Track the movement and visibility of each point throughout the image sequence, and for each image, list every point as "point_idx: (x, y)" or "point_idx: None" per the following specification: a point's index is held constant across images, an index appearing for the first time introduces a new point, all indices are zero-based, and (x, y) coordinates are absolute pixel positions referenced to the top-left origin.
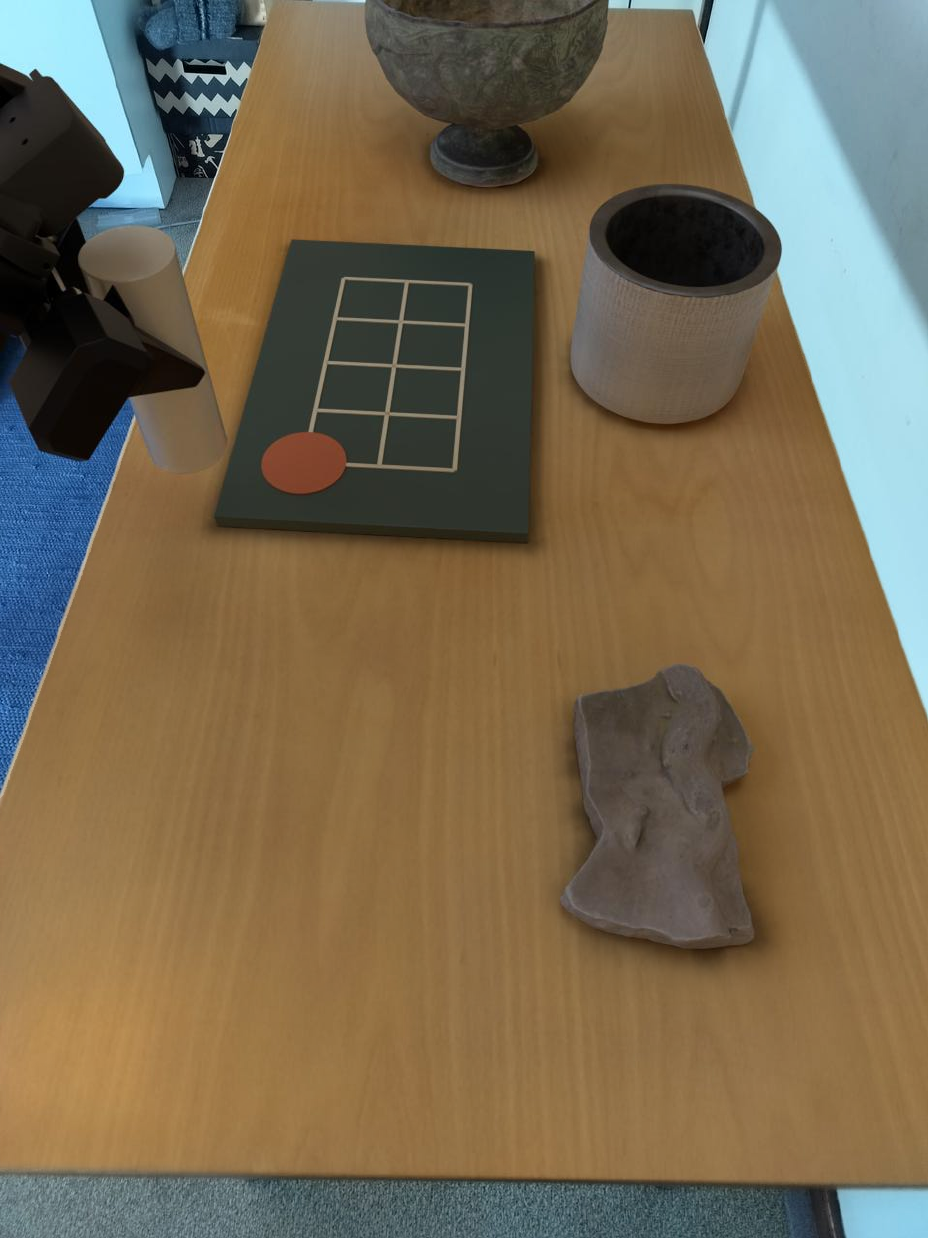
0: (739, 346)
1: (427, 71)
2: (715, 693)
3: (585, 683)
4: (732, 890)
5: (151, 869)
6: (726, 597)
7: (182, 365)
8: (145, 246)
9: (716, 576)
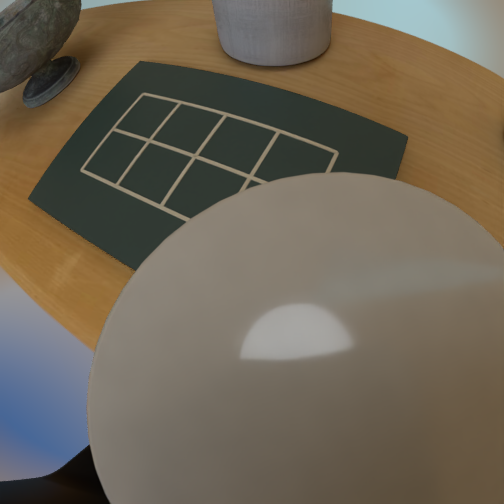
0: None
1: (14, 51)
2: None
3: (498, 166)
4: None
5: None
6: (449, 86)
7: None
8: (336, 317)
9: (437, 82)
